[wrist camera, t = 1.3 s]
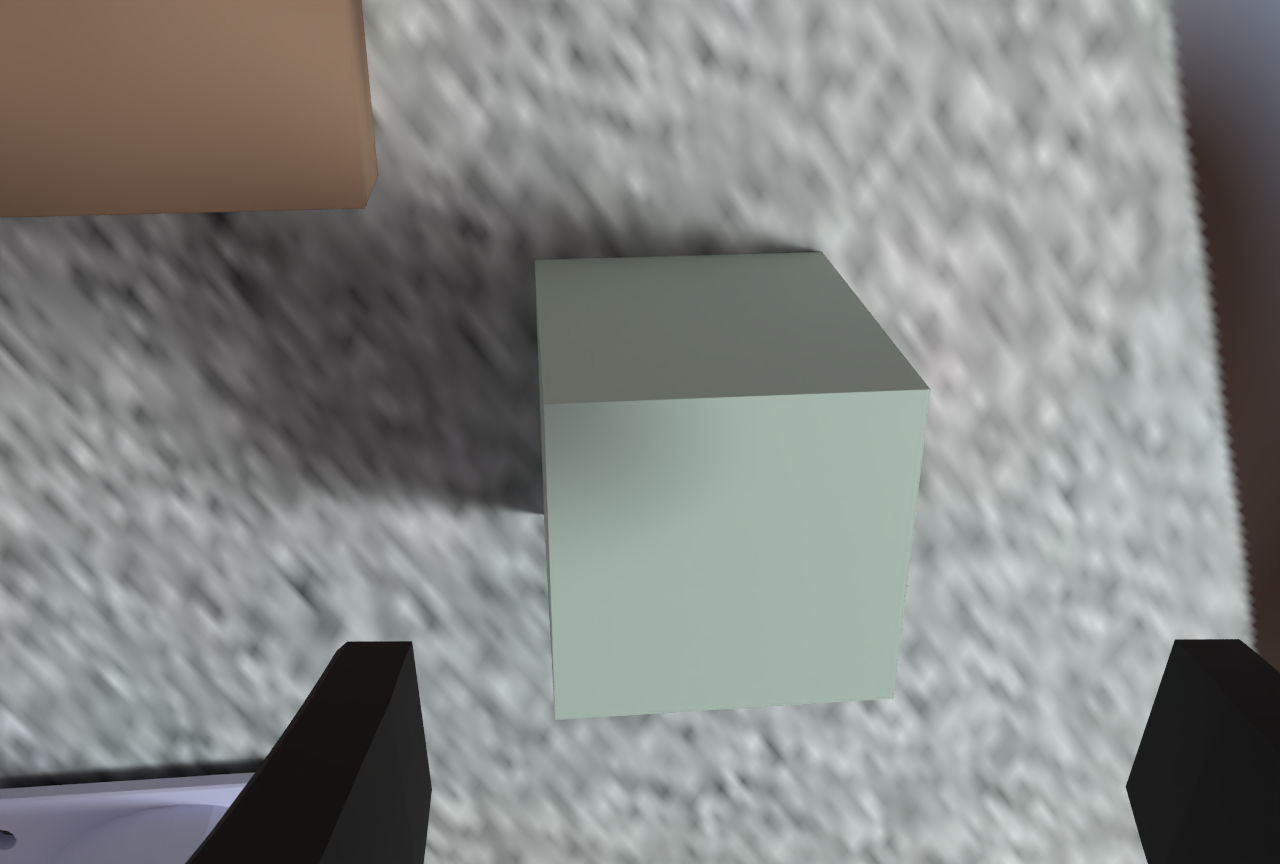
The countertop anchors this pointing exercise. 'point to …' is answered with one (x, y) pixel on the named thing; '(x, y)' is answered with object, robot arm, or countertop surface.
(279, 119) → the walnut board
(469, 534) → the countertop surface
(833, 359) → the sage block
